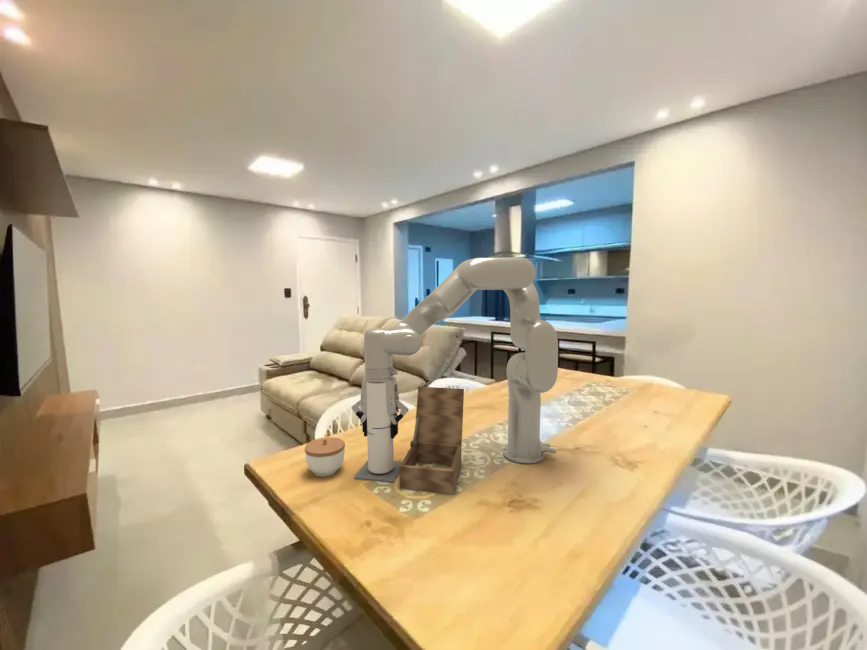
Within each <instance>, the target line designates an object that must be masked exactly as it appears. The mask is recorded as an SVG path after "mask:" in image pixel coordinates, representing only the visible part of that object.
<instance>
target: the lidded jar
mask: <svg viewBox="0 0 867 650" xmlns="http://www.w3.org/2000/svg"><path fill="white" fill-rule="evenodd" d="M345 446H346V443H345V441H344V440H343V439H341V438H338V437H332V436H330V437H321V438H316V439H313V440H311V441H309V442H308V443H306V445H305V447H304V452H305V462H306V465H307V467H308V469H309V470H310V471H311V472H312V473H313V474H314V475H315V476H317V477H321V478H322V477H329V476H332V475H334V474H336V472H337V471H338V470H339V469H340V468H341V466H342V464H343V462H344V459H345Z"/></svg>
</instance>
